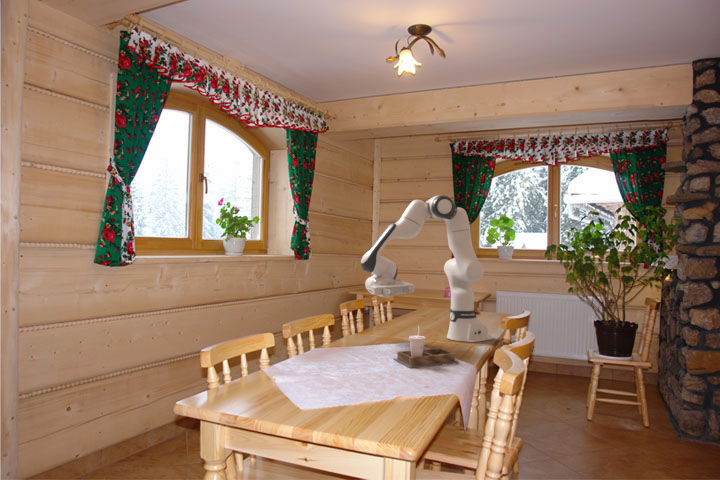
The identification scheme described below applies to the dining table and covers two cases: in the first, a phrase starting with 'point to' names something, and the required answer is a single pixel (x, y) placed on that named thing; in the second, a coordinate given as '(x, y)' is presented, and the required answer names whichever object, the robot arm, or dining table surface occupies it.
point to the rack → (426, 357)
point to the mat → (423, 365)
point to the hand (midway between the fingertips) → (400, 291)
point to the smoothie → (416, 345)
